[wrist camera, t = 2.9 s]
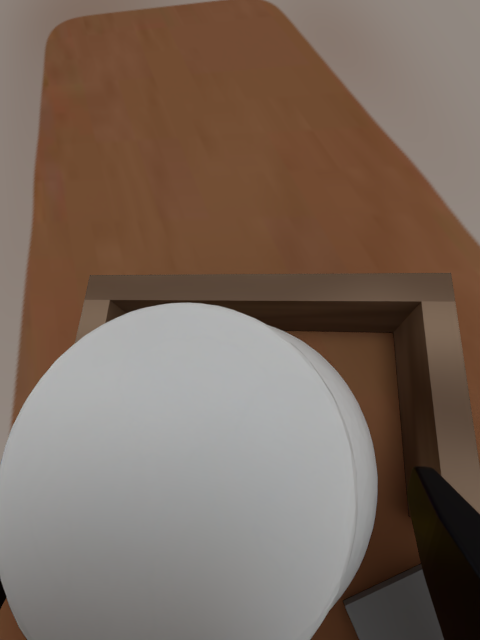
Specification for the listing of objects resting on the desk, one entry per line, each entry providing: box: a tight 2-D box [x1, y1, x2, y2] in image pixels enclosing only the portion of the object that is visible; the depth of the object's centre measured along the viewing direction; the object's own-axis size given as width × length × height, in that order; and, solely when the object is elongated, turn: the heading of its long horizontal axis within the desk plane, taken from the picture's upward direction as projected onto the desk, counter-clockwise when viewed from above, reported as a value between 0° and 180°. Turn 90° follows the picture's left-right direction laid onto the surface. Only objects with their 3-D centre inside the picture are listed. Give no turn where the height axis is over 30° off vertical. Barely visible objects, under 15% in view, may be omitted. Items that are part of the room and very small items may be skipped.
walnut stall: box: [75, 273, 480, 517], centre depth 15 cm, size 9×15×4 cm, turn 87°
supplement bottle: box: [0, 303, 378, 640], centre depth 10 cm, size 7×7×13 cm
